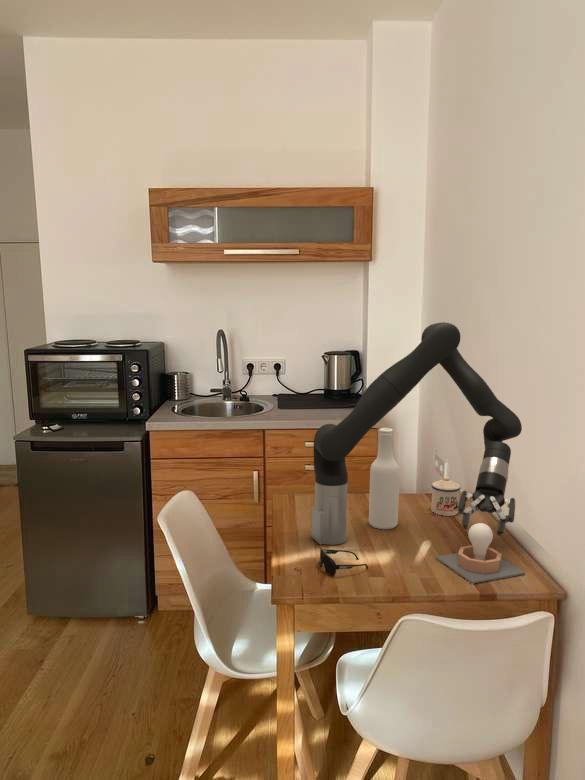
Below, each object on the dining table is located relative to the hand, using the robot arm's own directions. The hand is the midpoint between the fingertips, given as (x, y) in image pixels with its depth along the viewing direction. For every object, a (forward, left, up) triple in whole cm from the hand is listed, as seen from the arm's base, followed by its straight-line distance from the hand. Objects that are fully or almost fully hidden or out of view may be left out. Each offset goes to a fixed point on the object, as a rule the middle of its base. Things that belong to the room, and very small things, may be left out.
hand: (481, 531), depth 166 cm
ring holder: (-1, -1, -9) cm, 9 cm away
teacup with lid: (+16, +37, -9) cm, 42 cm away
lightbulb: (-1, -1, -9) cm, 9 cm away
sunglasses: (-34, +11, -10) cm, 37 cm away
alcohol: (-10, +34, -9) cm, 37 cm away
